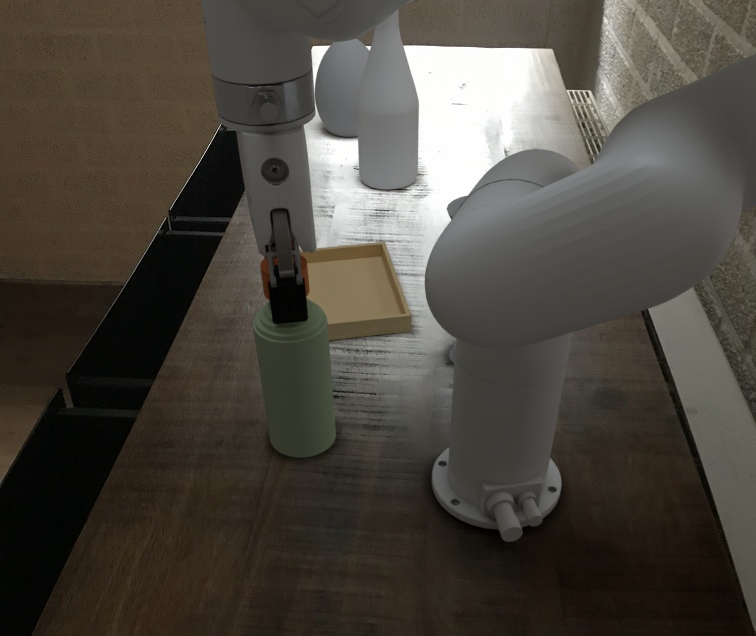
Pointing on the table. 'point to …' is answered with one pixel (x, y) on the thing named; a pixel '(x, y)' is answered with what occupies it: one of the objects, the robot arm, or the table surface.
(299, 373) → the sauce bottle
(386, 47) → the wine bottle
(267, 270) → the cap
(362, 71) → the decorative egg
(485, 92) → the table surface
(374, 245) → the tray
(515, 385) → the robot arm
